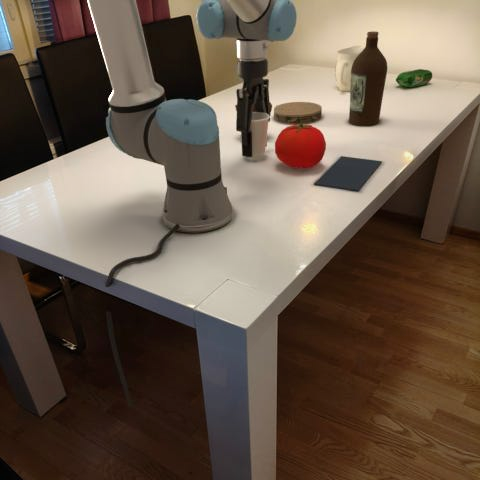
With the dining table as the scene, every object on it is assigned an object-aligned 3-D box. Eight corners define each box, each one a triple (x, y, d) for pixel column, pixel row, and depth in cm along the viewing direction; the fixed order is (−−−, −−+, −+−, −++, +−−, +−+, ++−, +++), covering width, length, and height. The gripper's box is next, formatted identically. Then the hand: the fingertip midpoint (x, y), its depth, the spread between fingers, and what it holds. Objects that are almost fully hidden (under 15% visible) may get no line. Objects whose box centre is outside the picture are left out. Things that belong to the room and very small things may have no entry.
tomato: (333, 163, 129) (335, 121, 123) (311, 179, 121) (312, 135, 115) (289, 155, 136) (289, 115, 129) (265, 170, 128) (265, 128, 121)
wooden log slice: (276, 126, 157) (276, 116, 156) (271, 112, 170) (271, 103, 168) (325, 123, 157) (325, 113, 155) (317, 109, 170) (317, 100, 168)
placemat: (358, 191, 114) (358, 190, 114) (314, 184, 118) (314, 183, 118) (381, 162, 128) (381, 161, 127) (341, 157, 132) (341, 156, 132)
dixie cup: (237, 158, 132) (236, 120, 126) (241, 148, 138) (240, 111, 132) (268, 159, 131) (268, 120, 125) (271, 148, 137) (271, 111, 131)
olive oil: (366, 115, 162) (375, 28, 146) (387, 122, 154) (399, 31, 139) (340, 121, 158) (346, 32, 143) (361, 129, 150) (370, 36, 135)
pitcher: (325, 94, 185) (327, 54, 177) (341, 83, 197) (344, 45, 189) (353, 96, 181) (357, 55, 172) (368, 85, 193) (372, 46, 185)
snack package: (391, 87, 189) (393, 72, 186) (420, 80, 195) (422, 66, 191) (404, 91, 184) (406, 75, 181) (434, 84, 190) (437, 69, 186)
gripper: (246, 67, 112) (249, 165, 125) (283, 52, 126) (282, 141, 140) (218, 66, 115) (223, 161, 128) (258, 51, 129) (259, 138, 143)
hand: (254, 151), depth 134 cm, fingers closed on dixie cup, 8 cm apart
